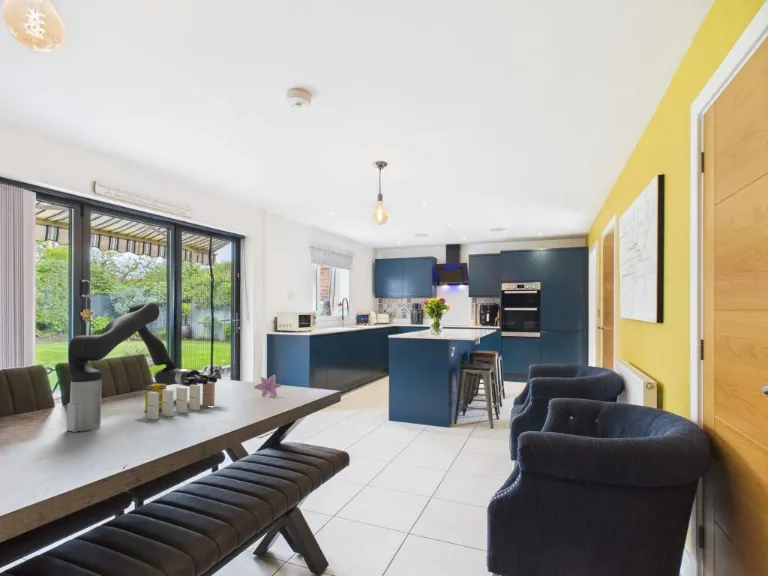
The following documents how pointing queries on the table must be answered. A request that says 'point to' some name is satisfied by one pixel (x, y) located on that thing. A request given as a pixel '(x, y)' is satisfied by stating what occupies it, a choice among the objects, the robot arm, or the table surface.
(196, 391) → the tile
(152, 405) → the end tile
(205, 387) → the tile
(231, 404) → the table surface
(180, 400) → the tile
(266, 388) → the lily
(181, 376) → the robot arm
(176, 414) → the domino mat
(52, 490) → the table surface
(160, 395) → the supplement box
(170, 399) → the tile
